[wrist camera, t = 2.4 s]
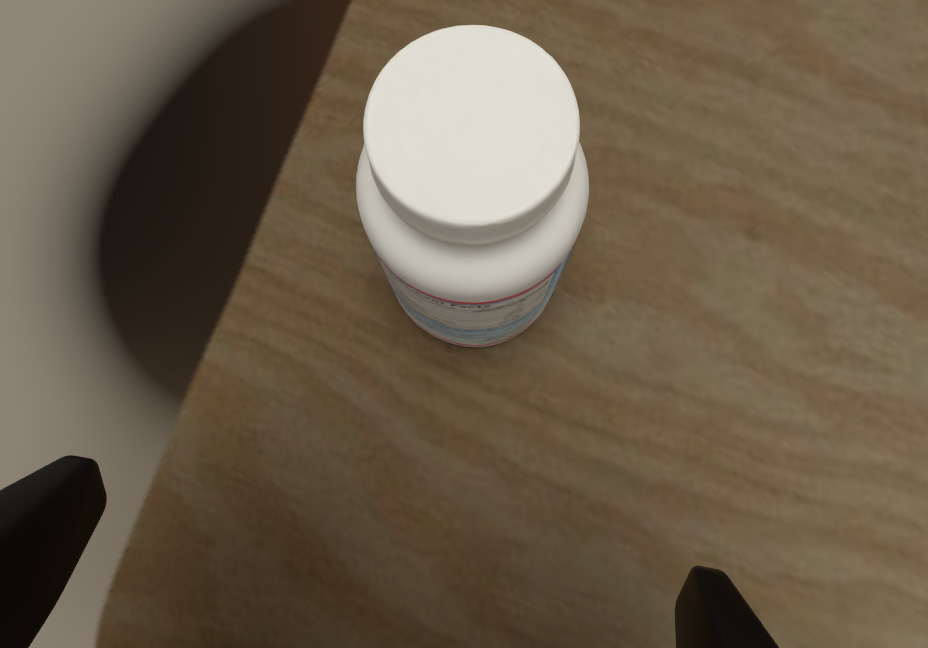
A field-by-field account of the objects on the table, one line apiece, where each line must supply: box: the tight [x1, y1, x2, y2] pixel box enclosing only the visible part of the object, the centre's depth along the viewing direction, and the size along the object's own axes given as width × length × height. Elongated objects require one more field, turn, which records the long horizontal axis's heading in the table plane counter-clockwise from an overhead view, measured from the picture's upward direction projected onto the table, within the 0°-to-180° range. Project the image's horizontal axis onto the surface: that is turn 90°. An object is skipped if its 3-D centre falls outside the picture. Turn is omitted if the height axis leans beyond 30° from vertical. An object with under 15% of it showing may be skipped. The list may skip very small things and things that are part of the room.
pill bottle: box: [356, 25, 589, 347], centre depth 19 cm, size 6×6×11 cm
